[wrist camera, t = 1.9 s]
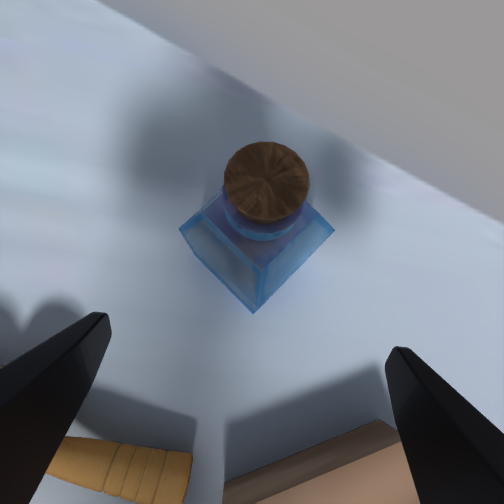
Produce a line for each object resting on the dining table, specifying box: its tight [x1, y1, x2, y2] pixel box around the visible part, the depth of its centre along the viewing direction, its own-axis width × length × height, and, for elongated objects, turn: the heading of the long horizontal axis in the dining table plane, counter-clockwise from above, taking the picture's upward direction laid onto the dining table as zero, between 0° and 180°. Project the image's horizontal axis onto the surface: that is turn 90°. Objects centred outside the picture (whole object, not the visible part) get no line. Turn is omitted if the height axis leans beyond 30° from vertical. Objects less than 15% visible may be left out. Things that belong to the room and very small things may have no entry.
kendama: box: [0, 366, 193, 504], centre depth 17 cm, size 8×6×18 cm
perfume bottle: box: [179, 142, 335, 314], centre depth 17 cm, size 6×6×12 cm
